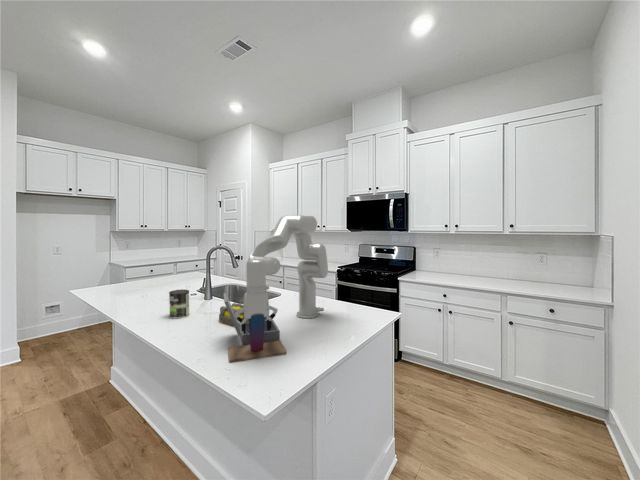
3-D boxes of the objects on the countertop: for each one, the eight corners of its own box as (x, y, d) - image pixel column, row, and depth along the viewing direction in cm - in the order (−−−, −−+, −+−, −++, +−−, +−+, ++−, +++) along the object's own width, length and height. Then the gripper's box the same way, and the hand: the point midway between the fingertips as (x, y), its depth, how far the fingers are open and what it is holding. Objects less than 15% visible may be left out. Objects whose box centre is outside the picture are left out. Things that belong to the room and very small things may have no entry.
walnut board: (280, 342, 127) (280, 340, 127) (286, 354, 116) (286, 351, 115) (227, 349, 119) (227, 347, 119) (229, 362, 108) (229, 360, 108)
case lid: (225, 292, 134) (223, 293, 134) (227, 301, 119) (224, 302, 119) (238, 322, 137) (235, 324, 137) (241, 335, 122) (238, 336, 122)
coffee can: (179, 319, 157) (178, 294, 156) (165, 317, 161) (164, 292, 160) (193, 314, 167) (193, 290, 166) (180, 312, 170) (180, 288, 170)
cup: (249, 346, 121) (249, 310, 120) (266, 345, 121) (266, 310, 120) (247, 353, 114) (246, 316, 113) (264, 352, 114) (264, 315, 114)
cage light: (234, 300, 167) (273, 309, 151) (235, 314, 168) (273, 324, 151) (213, 306, 155) (252, 316, 138) (213, 321, 155) (252, 333, 139)
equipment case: (272, 329, 143) (272, 305, 142) (279, 341, 128) (279, 315, 127) (234, 334, 136) (234, 309, 136) (236, 347, 121) (236, 319, 121)
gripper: (275, 286, 123) (275, 325, 123) (233, 289, 117) (233, 330, 118) (279, 290, 116) (279, 331, 116) (234, 293, 110) (235, 337, 111)
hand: (256, 331), depth 117 cm, fingers open, 9 cm apart
